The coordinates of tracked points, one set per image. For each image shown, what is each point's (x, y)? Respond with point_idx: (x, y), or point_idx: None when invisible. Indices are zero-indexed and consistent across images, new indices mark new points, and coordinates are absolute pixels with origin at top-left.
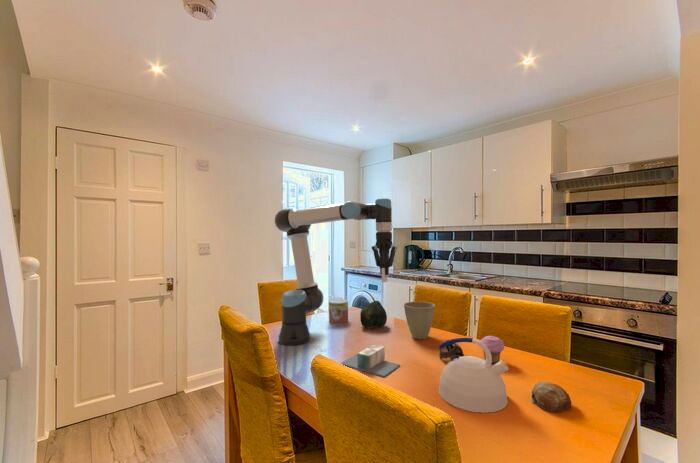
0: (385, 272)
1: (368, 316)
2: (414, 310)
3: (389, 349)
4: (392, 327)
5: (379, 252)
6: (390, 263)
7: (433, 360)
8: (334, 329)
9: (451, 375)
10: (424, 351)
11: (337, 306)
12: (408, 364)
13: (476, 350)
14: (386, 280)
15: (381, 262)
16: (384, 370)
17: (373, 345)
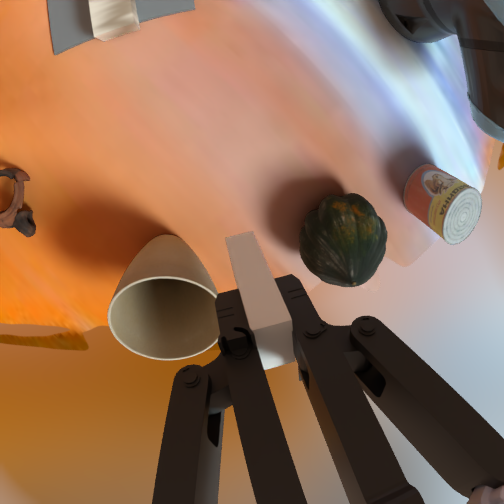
0: (238, 306)
1: (340, 207)
2: (139, 274)
3: (152, 108)
4: (281, 257)
5: (408, 501)
6: (168, 410)
7: (28, 151)
8: (399, 129)
9: None
10: (78, 178)
11: (450, 191)
12: (47, 79)
13: (30, 276)
14: (233, 272)
15: (320, 380)
16: (61, 2)
17: (128, 15)
